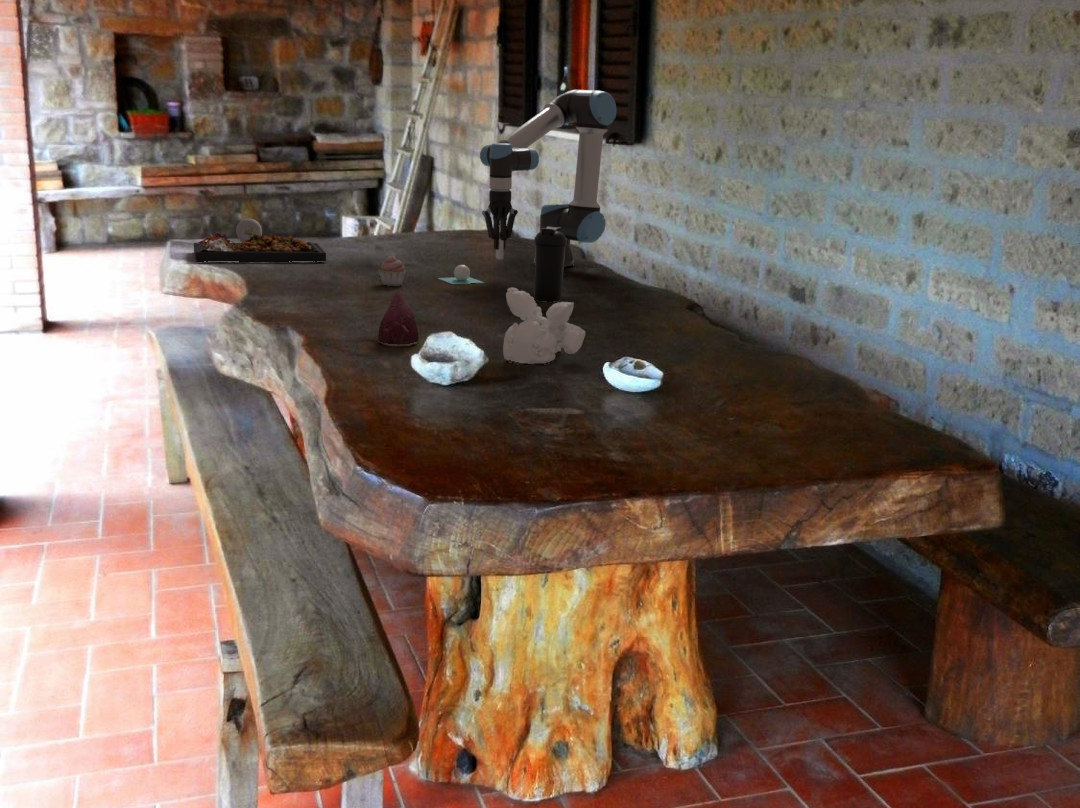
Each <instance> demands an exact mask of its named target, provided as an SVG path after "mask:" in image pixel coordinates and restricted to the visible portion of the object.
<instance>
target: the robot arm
mask: <svg viewBox="0 0 1080 808" xmlns="http://www.w3.org/2000/svg"><path fill="white" fill-rule="evenodd" d="M616 116H617V105H616V101H615V99H614V98H613V96H612V95H611V94H610V93H609V92H607V91H603V90H600V89H599V90H597V89H595V90H591V89H589V90H588V89H587V90H586V89H572V90H568V91H566V92H564V93H561V94H560V95H558V96H556V97H555V98H553V99H551V100H550V101H549V102H548V103H546V104H545V105H544V107H543V109H542V110H541V111H540V112H538V113H537V114H535V115H534V116H533V117H531V118H530V119H529V120H527V121H526V122H525V123H523V124H522V125H520V126H519V127H518V128H517V129H514V130H513V131H512V132H511V133H509V134H508V135H507V136H505V137H504V138H502V139H501V140H499V141H498V142H495V143H491V144H486V145H483V147H482V148H481V150H480V152H479V159H480V161H481V163H482V165H484V166H485V167H488V168H489V189H490V190H489V192H488V193H489V195H488V198H489V199H488V200H489V204H488V208H487V209H486V210H482V211H481V214H482V215H483V217H484V220H485V221H484V222H485V225H486V229H487V234H488V235H487V237H488V238H489V239H492V240H493V249H494V250H495V259H496V260H504V250H506V241H507V240H508V238H509V239H510V238H511V237H512V233H513V229H514V225H515V224H514V223H515V220H516V216H517V215H518V213H519V211H518V210H517V209H515V208H513V204H512V191H511V189H513V188H512V180H513V179H512V176H513V172H517V171H518V172H520V171H521V172H522V171H527V172H528V171H533V170H536V168H537V167H538V165H539V162H540V156H539V153H538V151H537V150H536V149H535V148H532V147H530V146H532V145H534V143H536V142H537V141H538V140H540V139H541V138H543V137H544V136H546V135H547V134H548V133H550V132H551V131H553V130H554V129H555V128H561V127H562V126H564V125H566V124H569V123H570V124H571V123H575V129H576V130H577V131H578V132H579V137H578V145H577V147H578V148H577V156H576V157H577V159H576V168H575V169H576V170H575V177H574V178H575V180H574V188H573V189H574V191H573V199H572V200H571V201H570V202H569V203H554V204H544V205H542V207H541V209H540V215H539V232H541V231H542V228H547V227H560V228H561V229H558V231H560V232H562V233H563V234H564V235H565V237H566V238H567V245H566V247H565V259H564V266H565V265H570V264H573V263H574V262H575V260H574V256H573V252H572V248H571V241H575V242H580V243H581V244H583V243H584V244H585V243H587V244H591V243H592V244H593V243H594V242H597V241H599V238H601V237H602V236H603V234H604V231H605V228H606V218H605V216H604V214H603V213H602V212H601V205H600V204H599V202H598V191H599V190H598V189H599V180H600V172H601V171H600V170H601V163H602V160H601V159H602V150H603V142H604V141H603V139H604V134H606V133H607V132H608V130H609V125H611V124H612V123H613V122H614V120H616ZM491 215H492V217H491ZM534 263H535V256H534V258H533V264H534ZM573 265H574V264H573Z"/></svg>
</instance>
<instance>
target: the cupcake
mask: <svg viewBox="0 0 1080 808" xmlns="http://www.w3.org/2000/svg"><path fill="white" fill-rule="evenodd" d="M406 273H407V270H405V265H404V264H403V262H402V261H401V260H400V259H397V258H396V257H395V255H394V254H392V255H389V256H388V257H387V258H385V260H384V261H383V262H382V263H381V264H380V269H378V274H379V276H380V279H381V284H382V285H383V284H384V285H389V286H397V287H401V286H402V285H403V281H404V277H405V276H406ZM384 285H383V286H384ZM400 285H401V286H400ZM389 286H388V287H389Z"/></svg>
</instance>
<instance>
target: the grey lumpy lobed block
mask: <svg viewBox="0 0 1080 808" xmlns="http://www.w3.org/2000/svg"><path fill="white" fill-rule="evenodd" d="M505 298H506V304H507V306H508V309H510V312H511V313H512V314H513V315H514V316H515V317H518V318H520V320H521V321H522V322H520V323H519V324H518V323H517V322H514V323H513V324H512V325H511V326H509V328H508V329H507V330H506V331H505V334H504V338H503V346H502V352H503V353H502V354H503V358H504V360H505V359H506V360H511V361H515V362H519V363H528V364H534V363H546V362H550V361H552V360H553V361H554V360H555V358H556V355H555V353H556V352H558V351H561V352H562V348H563V351H564V353H566V354H570V355H573V354H576V353H577V352H578V351H579V350H580V349H581V347H582V346H583V342H584V339H585V337H586V331H585V330H584V329H583V328H581V327H580V326H578V325H575V324H573V323H569V322H568V321H569V320H570V317H571V315H572V313H573V310H574V305H575V302H573V301H572V302H568V301H561V302H557V303H552V305H551V306H549V308H548V309H547V311H546V313H545V314H546V317H545V316H543V313H542V308H541V307H540V306H538V304H537V303H536V301H535V300H534V297H533V296H531V294H530V293H529V292H527V291H525V290H519V289H518V288H516V287H513V286H511V287H508V288H507V292H506V293H505ZM553 361H552V362H553Z"/></svg>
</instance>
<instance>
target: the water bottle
mask: <svg viewBox="0 0 1080 808" xmlns="http://www.w3.org/2000/svg"><path fill="white" fill-rule="evenodd" d="M558 229H561V228H560V227H547V228H542V231H541V232H540V231H539V232H537V233H536V235H535V236H534V239H533V240H534V242H533V243H534V245H535V246H534V247H535V248H534V249H535V250H534V251H535V252H534V257H535V264H534V297H533V298H534V299H535V300H538V301H547V302H553V301H559V300H561V301H562V292H563V284H564V283H563V280H564V269H565V268H564V259H565V247H566V245H567V238H566V237H565V235H564V234H563V233H562V232H560V231H558ZM538 301H537V302H538Z"/></svg>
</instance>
